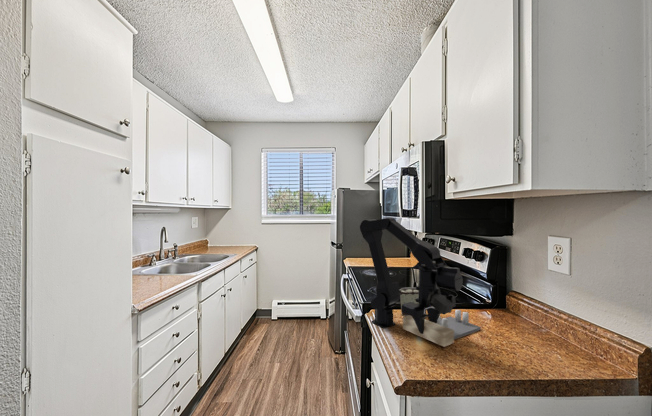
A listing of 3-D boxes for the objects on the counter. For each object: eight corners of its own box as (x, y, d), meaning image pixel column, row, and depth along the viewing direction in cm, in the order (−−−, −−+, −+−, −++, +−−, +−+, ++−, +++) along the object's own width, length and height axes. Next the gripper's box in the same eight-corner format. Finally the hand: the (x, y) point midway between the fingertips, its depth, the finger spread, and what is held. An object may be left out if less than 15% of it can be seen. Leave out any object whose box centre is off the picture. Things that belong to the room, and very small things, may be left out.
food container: (426, 311, 125) (426, 287, 125) (429, 316, 119) (430, 291, 119) (395, 310, 126) (396, 286, 126) (398, 315, 120) (398, 290, 120)
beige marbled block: (402, 328, 104) (402, 317, 104) (411, 325, 106) (412, 314, 106) (444, 346, 91) (444, 333, 91) (453, 342, 93) (453, 330, 93)
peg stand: (423, 327, 108) (423, 313, 108) (450, 318, 117) (450, 306, 117) (453, 340, 98) (453, 324, 98) (480, 329, 107) (480, 315, 107)
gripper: (429, 294, 87) (428, 348, 87) (467, 286, 97) (466, 334, 97) (400, 285, 96) (399, 334, 96) (437, 279, 106) (436, 323, 106)
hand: (426, 331), depth 98 cm, fingers closed on beige marbled block, 5 cm apart
